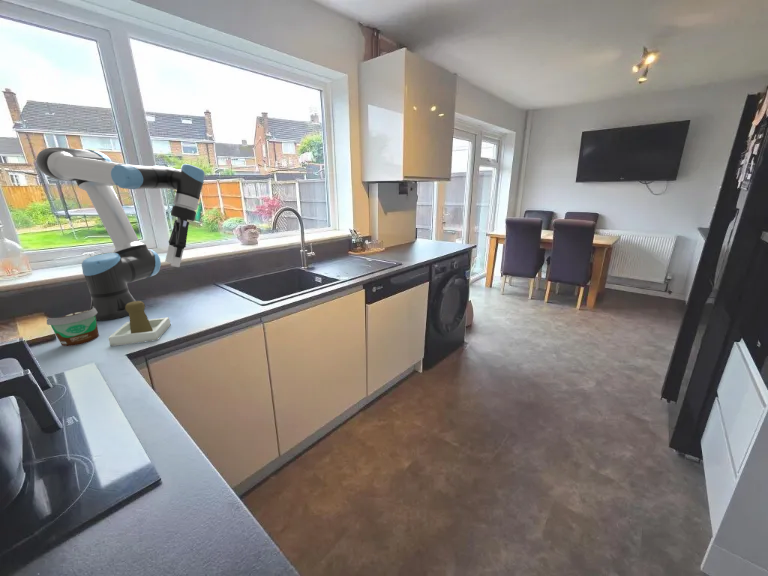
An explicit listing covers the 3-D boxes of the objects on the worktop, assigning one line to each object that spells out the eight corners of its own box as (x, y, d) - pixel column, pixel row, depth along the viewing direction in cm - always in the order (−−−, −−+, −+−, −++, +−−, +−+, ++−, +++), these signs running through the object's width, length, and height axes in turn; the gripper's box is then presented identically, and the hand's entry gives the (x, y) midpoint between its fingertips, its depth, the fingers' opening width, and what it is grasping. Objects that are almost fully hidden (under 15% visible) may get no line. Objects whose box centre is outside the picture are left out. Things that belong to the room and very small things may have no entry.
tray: (129, 329, 114) (127, 321, 113) (170, 324, 117) (168, 317, 117) (110, 346, 102) (108, 337, 101) (157, 340, 106) (155, 332, 105)
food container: (61, 351, 99) (51, 321, 96) (55, 347, 102) (44, 317, 99) (110, 336, 109) (102, 308, 106) (103, 332, 112) (94, 305, 109)
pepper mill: (141, 337, 106) (133, 305, 103) (126, 335, 107) (117, 304, 104) (157, 329, 112) (149, 299, 109) (142, 328, 113) (134, 298, 110)
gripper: (203, 210, 112) (190, 270, 112) (189, 211, 131) (178, 262, 131) (178, 203, 107) (164, 265, 107) (168, 205, 126) (156, 258, 126)
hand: (172, 264), depth 119 cm, fingers open, 13 cm apart
